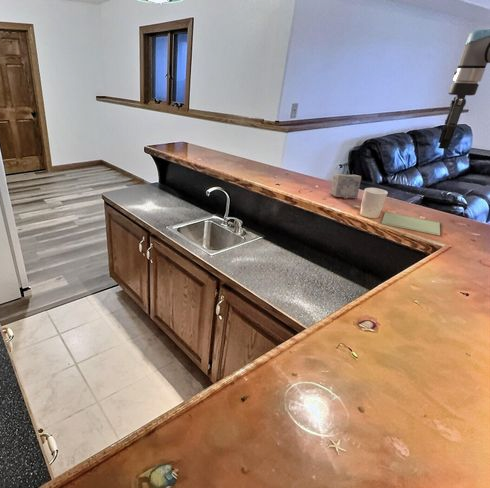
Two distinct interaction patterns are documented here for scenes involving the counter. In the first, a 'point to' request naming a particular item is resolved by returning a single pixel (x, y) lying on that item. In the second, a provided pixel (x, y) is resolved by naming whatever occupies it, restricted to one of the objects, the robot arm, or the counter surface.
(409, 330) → the counter surface
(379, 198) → the white cup
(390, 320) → the counter surface
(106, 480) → the counter surface
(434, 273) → the counter surface
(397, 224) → the napkin
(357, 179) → the incense holder
